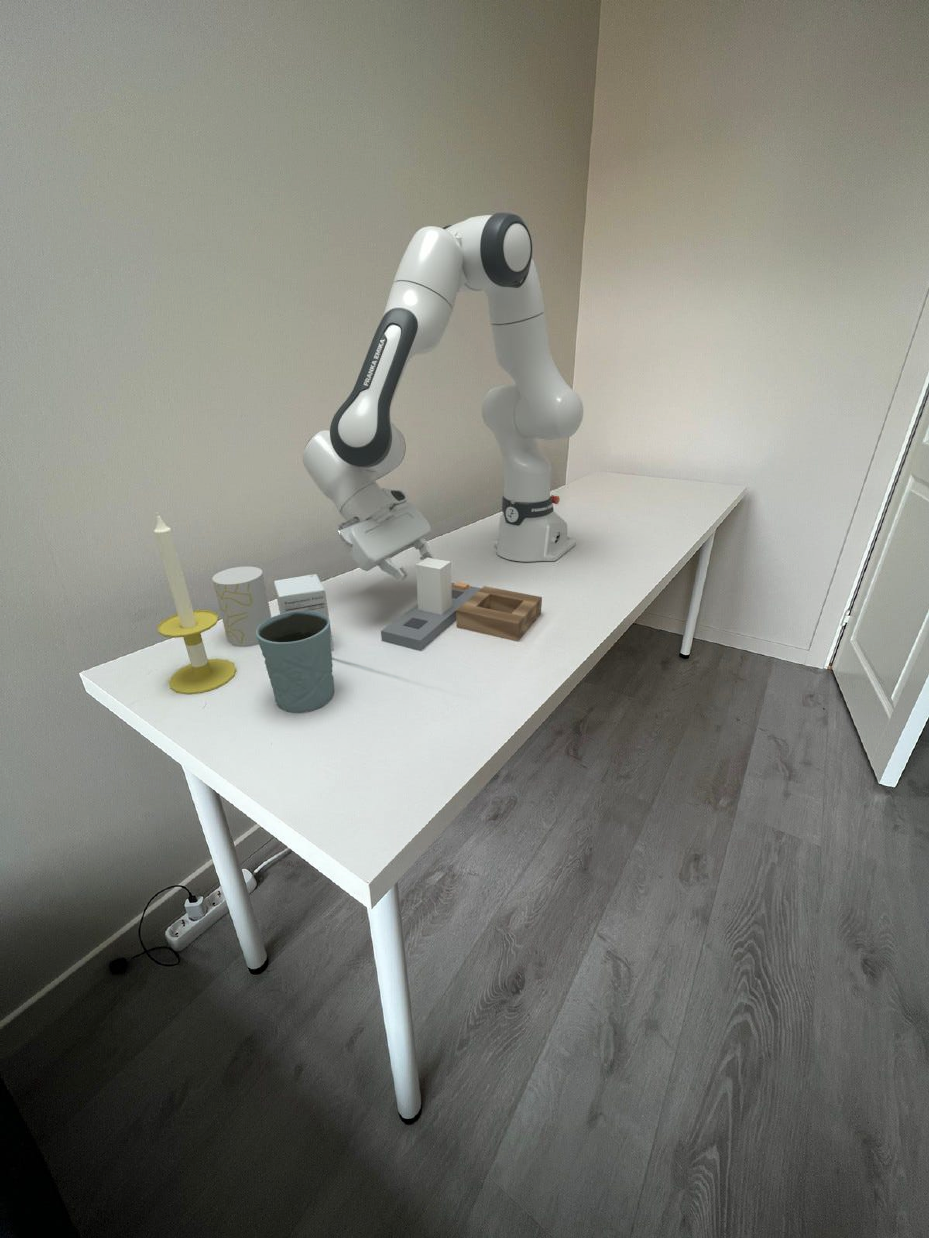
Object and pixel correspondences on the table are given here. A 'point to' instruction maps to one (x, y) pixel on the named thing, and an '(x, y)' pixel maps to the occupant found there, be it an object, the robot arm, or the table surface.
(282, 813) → the table surface
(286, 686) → the teal plant pot
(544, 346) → the robot arm
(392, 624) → the power strip
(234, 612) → the cup
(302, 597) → the supplement box
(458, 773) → the table surface
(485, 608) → the square wooden tray
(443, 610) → the white rectangular block
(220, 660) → the candle
